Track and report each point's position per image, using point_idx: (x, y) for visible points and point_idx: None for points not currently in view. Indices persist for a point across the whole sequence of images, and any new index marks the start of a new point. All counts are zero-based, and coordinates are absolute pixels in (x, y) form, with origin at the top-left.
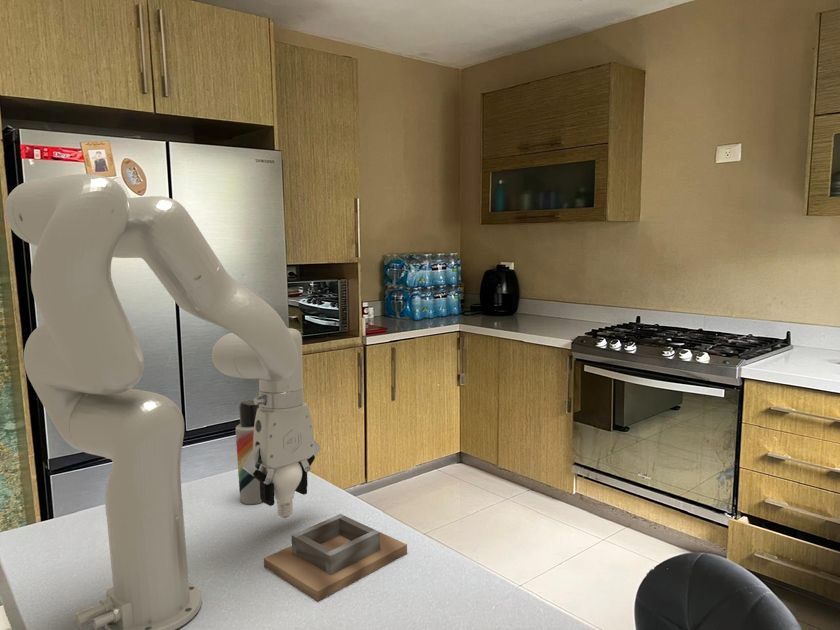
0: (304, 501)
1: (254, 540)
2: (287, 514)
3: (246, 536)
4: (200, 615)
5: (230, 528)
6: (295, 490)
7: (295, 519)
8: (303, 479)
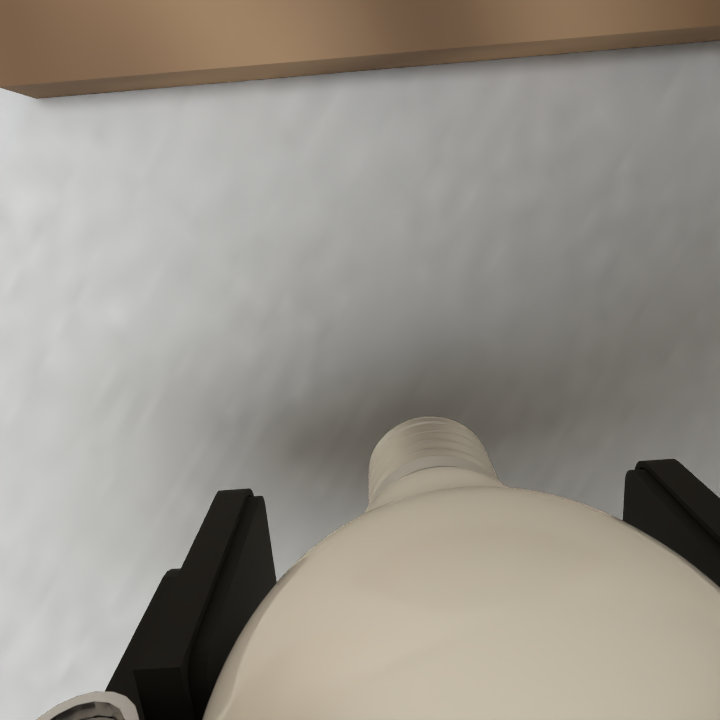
0: None
1: (643, 412)
2: (441, 424)
3: None
4: None
5: None
6: None
7: (303, 486)
8: (219, 604)
